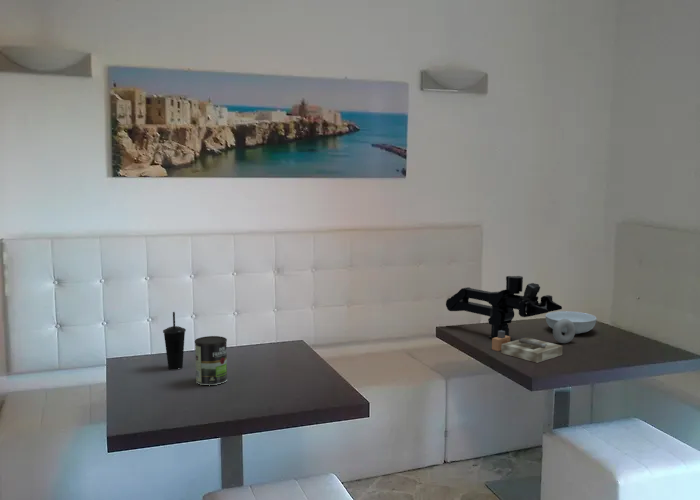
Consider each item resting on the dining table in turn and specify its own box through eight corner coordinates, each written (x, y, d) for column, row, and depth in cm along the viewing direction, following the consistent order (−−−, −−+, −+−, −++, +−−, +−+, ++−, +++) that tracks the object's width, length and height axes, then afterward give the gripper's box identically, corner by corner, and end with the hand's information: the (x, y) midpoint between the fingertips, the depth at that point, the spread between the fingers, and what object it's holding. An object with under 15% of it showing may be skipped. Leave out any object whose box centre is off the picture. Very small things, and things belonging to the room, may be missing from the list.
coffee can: (234, 379, 219) (233, 338, 218) (212, 388, 211) (211, 345, 209) (211, 374, 225) (210, 334, 223) (189, 382, 216) (187, 340, 214)
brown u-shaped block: (491, 349, 256) (492, 331, 255) (503, 346, 261) (504, 328, 260) (498, 351, 254) (498, 333, 253) (510, 347, 259) (510, 330, 258)
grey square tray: (501, 353, 251) (501, 340, 251) (526, 345, 261) (527, 333, 261) (537, 362, 239) (537, 349, 238) (562, 354, 249) (562, 341, 249)
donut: (571, 341, 269) (572, 317, 267) (576, 343, 265) (577, 319, 264) (550, 343, 266) (551, 318, 264) (555, 345, 262) (556, 320, 261)
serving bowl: (560, 323, 299) (561, 308, 298) (604, 332, 284) (605, 316, 283) (535, 331, 285) (535, 315, 284) (580, 340, 270) (581, 324, 269)
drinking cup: (190, 365, 234) (189, 310, 232) (178, 372, 227) (176, 315, 225) (172, 363, 237) (170, 309, 234) (159, 369, 230) (157, 313, 227)
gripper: (506, 285, 256) (541, 291, 244) (535, 280, 268) (569, 285, 256) (505, 313, 258) (540, 321, 246) (534, 307, 269) (568, 314, 257)
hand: (554, 309), depth 251 cm, fingers open, 9 cm apart
